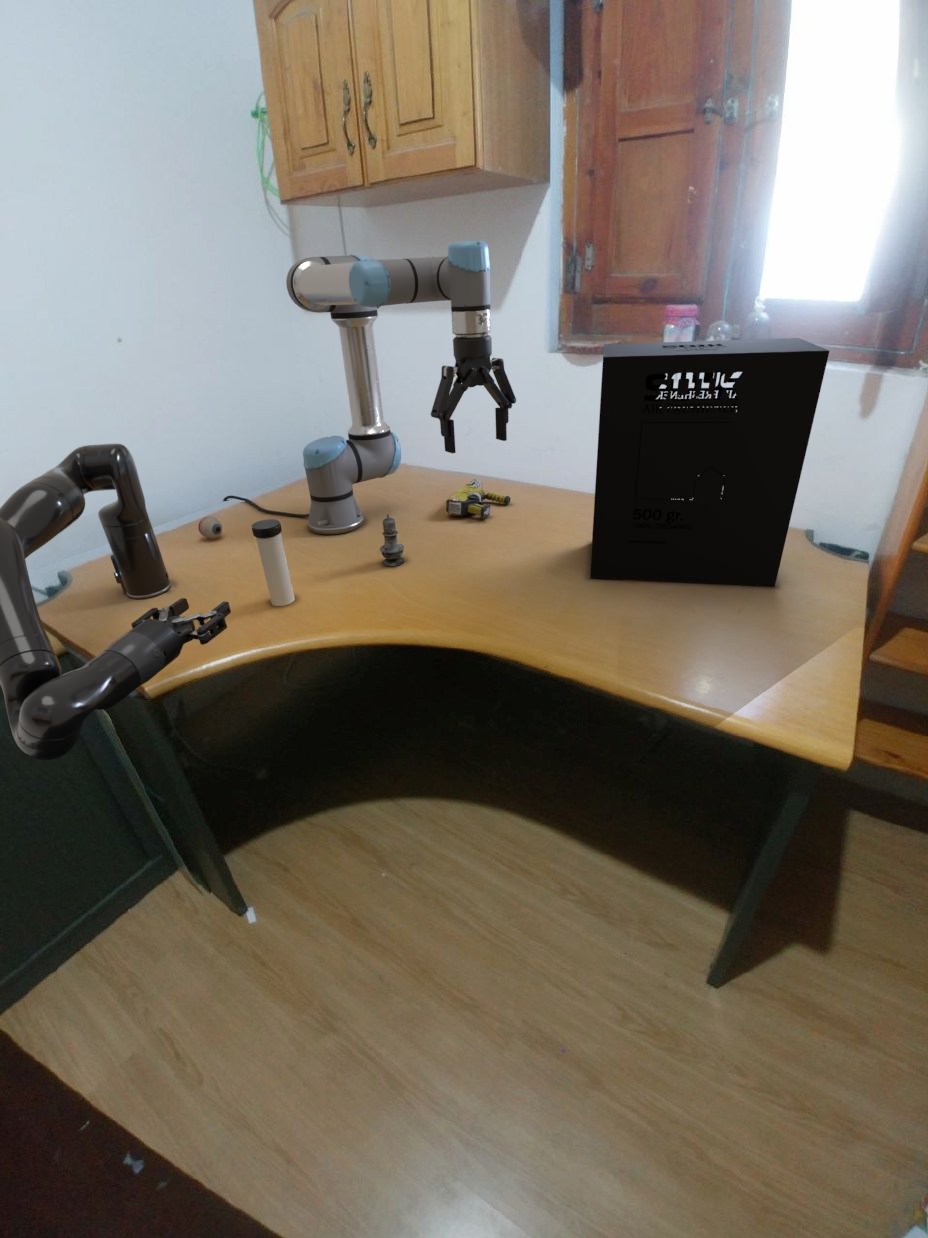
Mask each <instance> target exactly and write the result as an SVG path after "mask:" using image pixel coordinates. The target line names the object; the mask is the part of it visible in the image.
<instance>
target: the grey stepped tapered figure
mask: <svg viewBox="0 0 928 1238" xmlns="http://www.w3.org/2000/svg"><path fill="white" fill-rule="evenodd" d="M382 528H383V529H382V530H383V532H382V536H383V538H384V544H383V545H381V546H380V547H379V551H380V553H381V555H382V557H383V558H384V559H383V560H382V564H383V565H384V566H386V567H396V566H400V565H402V564H404V562H405V558H404V557H402V555H403V553H404V550H405V546H404V544H402V543H400V542H399V541H398V534H399V532H398V531H397V527H396V521H395V519H394V518H393V517H390V515H389V514H386V517H385V518H383V520H382Z"/></svg>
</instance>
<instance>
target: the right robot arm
mask: <svg viewBox="0 0 928 1238" xmlns="http://www.w3.org/2000/svg"><path fill="white" fill-rule="evenodd" d="M490 263H491V262H490V252H489V245H488V244H487V242H485V241H484V240H466V241H455V242H451V243H450V244H449V245H448V247H447V256H431V257H430V256H427V257H413V258H411V257H410V258H391V259H390V258H386V259H374V258H370V257H369V256H367V255H358V254H349V255H328V256H326V255H325V256H310V257H305V258H302V259H300V260H298V261H296V262H295V263H293V265H291V267H290V268H289V269H288V272H287V275H286V281H285V282H286V283H285V284H286V285H285V286H286V290H287V293H288V296H289V297H290V299H291V300H292V303H294V304H295V305H296V306H298V307H299V308H300V309H302V310H304V311H306V312H310V313H318V314H319V313H320V314H321V313H330V320H331V321H332V322H333V323H334V324H335V325H336V326H337V327H338V332H339V333H338V334H339V339H340V347H341V355H342V361H343V369H344V375H345V382H346V383H345V384H346V389H347V396H348V404H349V410H350V418H351V425H350V426H349V428H348V430H347V436H348V439H345V437H343V436H341V435H332V436H324V437H321V438H318V439H315V440H312V441H311V442H309V443H308V444H306V445H305V446H304V448H303V450H302V457H303V459H302V460H303V467H304V471H305V476H306V481H307V486H308V492H309V498H310V507H309V513H304V514H303V513H292V512H285V511H277V510H271V509H266V508H264V507H261V506H260V505H258V504H257V503H255V502H253V501H252V500H250V499H248V498H245V497H241V496H237V495H227V496H225V497H224V498H223V500H222V501H223V502H227V501H228V500H229V499H235V500H240V501H242V502H246V503H249V505H251V506H253V507H255V509H258V511H261V512H263V513H267V514H273V515H278V516H279V515H280V516H288V517H294V518H308V521H307V524H308V528H309V529H308V530H310V531H311V532H312V533H314V534H317V535H323V536H324V535H325V536H327V535H329V536H331V535H339V534H340V535H341V534H345V533H350V532H353V531H355V530H357V529H359V528H361V527H362V526H363V525H364V523H365V519H364V514H363V512H362V510H361V508H360V505H359V504H358V501H357V500H356V498H355V495H354V489H353V485H354V484H355V485H356V484H359V483H363V482H368V481H371V480H375V479H381V478H385V477H387V476H390V475H392V474H394V473H396V472H397V470H398V469H399V467H400V465H401V462H402V446H401V443H400V441H399V437H398V436H397V435H396V434H395V432H394V431H391V426H390V425H388V423H386V422H385V420H384V419H385V418H384V410H383V402H382V393H381V385H380V377H379V368H378V367H379V366H378V358H377V349H376V341H375V331H374V324H375V322H376V320H377V319H378V317H379V314H378V309H379V308H381V307H385V306H394V305H403V304H405V305H406V304H417V303H419V304H420V303H427V302H428V303H429V302H444V301H448V302H449V301H450V311H451V313H450V314H451V315H450V316H451V334H453V335H454V337H453V339H452V350H453V358H454V359H455V363H454V366H452V365H442V366H441V373H440V374H441V375H440V376H441V377H440V381H439V384H438V388H437V390H436V395H435V398H434V401H433V404H432V407H431V411H430V416H431V418H435V419H438V421H439V426H440V435H441V437H443V441H444V442H443V443H444V452H446V453H450V454H456V433H455V420H454V419H451V418H452V416H453V414H454V413H455V410H456V409H457V406H458V404H459V402H460V401H461V399H462V397H463V396H464V393H465V392H466V391H468V389H469V388H474V387H477V386H478V387H482V386H483V387H484V389H485V390H486V391H487V392H488V394H489V396H491V398H492V399H493V401H494V402H495V403H496V405H497V406H498V407H495V408H494V410H495V411H494V413H495V414H494V415H495V439H496V440H499V441H502V442H507V441H508V438H507V435H508V433H507V424H509V410H510V409H512V407H513V404H516V403H517V398H516V394H515V393H514V390H513V388H512V385H511V383H510V380H509V378H508V375H507V373H506V370H505V363H504V362H505V361H504V359H503V358H499V357H493V358H491V356H492V354H493V346H492V344H493V343H492V340H493V339H492V336H491V335H489V333H491V332H492V315H491V314H492V312H491V311H492V309H491V264H490ZM491 370H492V374H493V376H494V378H493V376H492V375H491ZM455 377H456V378H455ZM454 378H455V380H454ZM495 381H496V383H497V384H496V383H495Z"/></svg>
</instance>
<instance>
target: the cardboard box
mask: <svg viewBox="0 0 928 1238" xmlns="http://www.w3.org/2000/svg"><path fill="white" fill-rule="evenodd" d="M829 356H830V350H829V349H827V348H824V347H822V346H819V345H817V344H815V343H813V342H809V341H808V340H804V339H802V338H799V337H787V338H786V337H785V338H756V339H755V338H753V339H751V338H750V339H724V340H691V341H689V340H688V341H661V342H631V343H604V344H603V353H602V368H601V385H600V386H601V387H600V399H599V400H600V402H599V416H598V417H599V419H598V434H597V436H598V437H597V452H596V467H595V468H596V470H595V487H594V502H593V503H594V504H593V521H592V535H591V536H592V538H591V554H590V569H589V571H590V572H589V578H590V579H600V580H625V581H647V582H665V583H666V582H667V583H668V582H669V583H688V584H689V583H691V584H692V583H693V584H714V585H735V586H755V587H756V586H757V587H759V586H760V587H776V583H777V579H778V575H779V572H780V571H779V570H780V566H781V562H782V557H783V553H784V549H785V545H786V541H787V536H788V532H789V528H790V523H791V519H792V514H793V510H794V506H795V502H796V497H797V493H798V489H799V485H800V480H801V475H802V473H803V472H802V471H803V467H804V464H805V457H806V454H807V449H808V446H809V441H810V437H811V433H812V428H813V425H814V419H815V415H816V411H817V407H818V403H819V398H820V395H821V390H822V385H823V381H824V376H825V373H826V368H827V363H828V360H829ZM735 373H740V374H739V376H738V377H733V375H734V374H735ZM676 374H680V378H678V381H677V387H674V386H675V385H674V384H675V378H673V377H674V375H676ZM687 374H692V378H691V384H694V385H693V387H689V385H690V378H687ZM701 374H703V378H700V376H701ZM718 374H719V378H718ZM722 377H723V382H722ZM717 379H718V383H717ZM722 383H723V384H727V383H729V384H731V383H733V384H732V387H731V386H730V387H726V386H725V387H724V386H723V385H722ZM703 384H708V387H702V385H703ZM662 386H665V387H664V388H663V387H662ZM661 387H662V388H661Z"/></svg>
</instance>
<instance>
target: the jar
mask: <svg viewBox="0 0 928 1238" xmlns="http://www.w3.org/2000/svg"><path fill="white" fill-rule="evenodd" d="M281 533H282V532H281ZM281 533H280V534H278V535H276V536H273V537H269V538H257V537H255V541H256V545H257V548H258V552H259V556H260V561H261V565H262V568H263V573H264V577H265V582H266V586H267V591H268V595H269V599H270V601H271V604H272V605H273V606H274V607H285V606H288V605H290V604H292V603H294V602H295V600H296V599H295V593H294V588H293V585H292V580H291V575H290V571H289V566H288V562H287V561H288V560H287V557H286V552H285V548H284V543H283V539H282V534H281Z"/></svg>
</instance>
